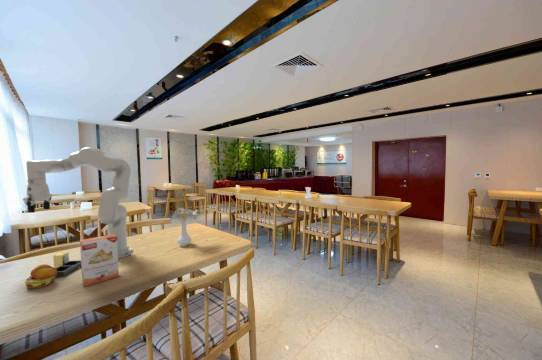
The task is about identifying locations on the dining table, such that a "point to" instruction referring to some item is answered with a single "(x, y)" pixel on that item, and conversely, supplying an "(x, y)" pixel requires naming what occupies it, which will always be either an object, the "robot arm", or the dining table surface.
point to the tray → (67, 268)
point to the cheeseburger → (41, 276)
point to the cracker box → (99, 259)
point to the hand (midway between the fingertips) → (39, 210)
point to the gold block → (61, 259)
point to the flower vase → (184, 225)
